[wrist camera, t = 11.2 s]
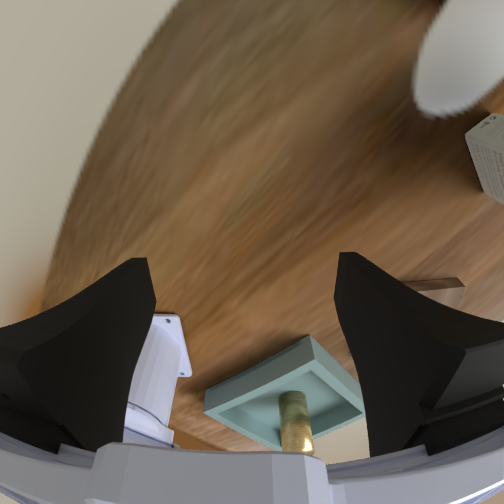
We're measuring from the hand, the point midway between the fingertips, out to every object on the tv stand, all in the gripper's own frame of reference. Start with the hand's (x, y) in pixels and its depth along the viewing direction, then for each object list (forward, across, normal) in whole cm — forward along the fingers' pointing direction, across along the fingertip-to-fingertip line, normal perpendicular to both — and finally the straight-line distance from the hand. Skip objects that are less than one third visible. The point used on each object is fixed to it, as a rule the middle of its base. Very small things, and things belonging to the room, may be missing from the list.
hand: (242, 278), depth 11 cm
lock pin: (+10, -4, +22) cm, 24 cm away
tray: (+10, -4, +22) cm, 25 cm away
